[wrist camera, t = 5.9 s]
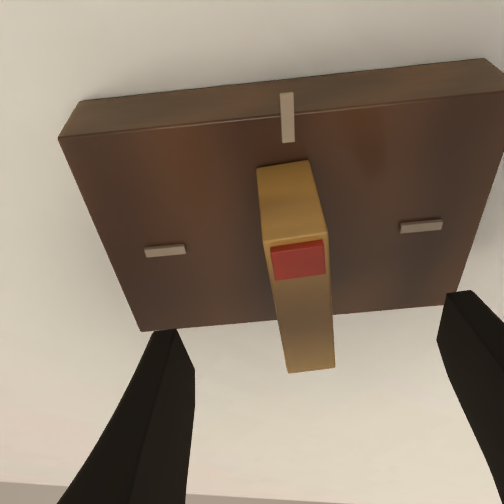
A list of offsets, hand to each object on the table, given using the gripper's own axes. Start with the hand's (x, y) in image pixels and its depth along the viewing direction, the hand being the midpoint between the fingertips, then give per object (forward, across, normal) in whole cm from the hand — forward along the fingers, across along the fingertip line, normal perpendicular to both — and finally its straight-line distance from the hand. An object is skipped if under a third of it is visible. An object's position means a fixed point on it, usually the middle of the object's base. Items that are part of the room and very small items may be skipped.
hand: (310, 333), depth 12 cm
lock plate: (+7, 0, 0) cm, 7 cm away
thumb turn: (+4, 0, 0) cm, 4 cm away
